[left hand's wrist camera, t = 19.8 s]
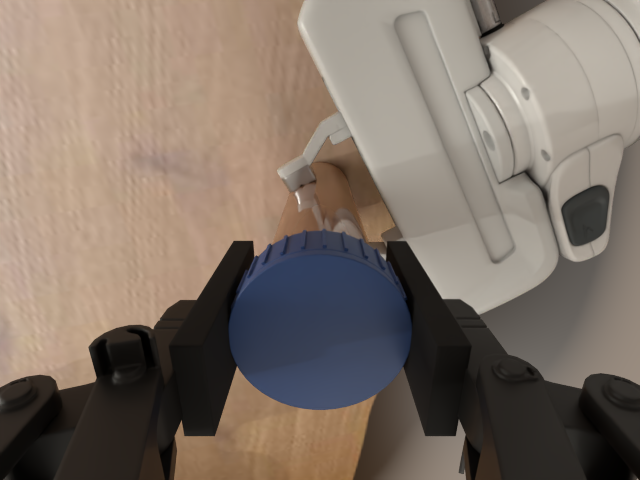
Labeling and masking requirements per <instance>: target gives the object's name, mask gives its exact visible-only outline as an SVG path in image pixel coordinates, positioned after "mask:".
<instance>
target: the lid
mask: <svg viewBox="0 0 640 480" xmlns="http://www.w3.org/2000/svg"><path fill="white" fill-rule="evenodd" d="M236 293H237V294H236V296H235V299H234V301H233V303H232V305H231V313H230V318H229V322H228V332H229V342H230V350H231V353H232V356H233V358H234V361H235V363H236V365H237V366H238V368H239V370H240V371H241V373H242V374H243V375H244V376H245V378H246V379H247V380H248V381H249V382H250V383H251V384H252V385H253V386H254V387H256V388H257V389H258V390H259V391H261V392H262V393H264V394H265V395H267V396H269V397H270V398H272V399H274V400H277V401H279V402H281V403H284V404H287V405H290V406H294V407H298V408H303V409H312V410H328V409H337V408H342V407H347V406H350V405H354V404H357V403H359V402H362V401H364V400H366V399H368V398H370V397H372V396H374V395H375V394H377V393H378V392H380V391H381V390H382V389H384V388H385V387H386V386H387V385H388V384H389V383H390V382H392V381H393V379H394V378H395V377H396V376H397V375H398V373H399V372H400V370H401V369H402V367H403V366H404V364H405V362H406V359H407V357H408V355H409V351H410V344H411V335H412V320H411V315H410V312H409V309H408V306H407V303H406V300H408V299H407V296H406V294H405V292H404V290H403V287H402V285H401V283H400V281H399V278H398V276H396V275H395V273H394V270H393V268H392V266H391V263H390V262H389V261H388V262H386V261H385V259H384V258H383V257H382V256H381V255H380V252H379V250H378V249H377V248H376V249H373V248H372V247H371V246H369V245H368V244H366V243H364V240H363V239H362V238H360V239H357V238H354V237H352V236H350V235H346V233H345V232H343V231H342V233H339V232H332V231H326V229H322V231H308V232H307V231H306V230H303V232H302V233H298V234H294V235H291V236H289V237H288V235H285V236H284V238H283V239H282V240H280V241H278V242H276V243H274V244H273V245H271V244H269V245H268V246H267V249H266V250H265V251H264V252H263V253H262V254H260V255H259V256H255V257H254V260H253V262H252V265H251V267H250V269H249V271H248V270H246V271H245V273H244V275H243V277H242V280H241V282H240V284H239V286H238V289H237V291H236Z"/></svg>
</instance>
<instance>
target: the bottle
mask: <svg viewBox="0 0 640 480" xmlns="http://www.w3.org/2000/svg"><path fill="white" fill-rule="evenodd" d="M311 165H312V167H313V169H314V171H315V173H316V180H314V181H312V182H310V183H309V184H306V185H302V184H301V186H300V188H299V189H297V190H296V191H294V192H291V193H289V196H288V199H287V202H286V205H285V208H284V210H283V213H282V216H281V219H280V222H279V225H278V228H277V231H276V234H275V237H274V239H273V242H272V245H273V244H274V243H276V242H278V241H280V240H282V239H283V238H284V236H285V235H288V237H289V236H291V235H294V234H298V233H302V232H303V230H306V231H307V232H308V231H322V229H326V231H332V232H339V233H342V231H343V232H345V233H346V235H350V236H352V237H354V238H357V239H360V238H362V239H363V240H364V243H366V244H368V245H369V246H370V244H369V242H368V239H367V236H366V233H365V230H364V227H363V224H362V221H361V219H360V216H359V213H358V210H357V207H356V204H355V201H354V198H353V196H352V193H351V190H350V187H349V184H348V181H347V179H346V177H345V175H344V174H343V172H342V171H341V170H340V169H339V168H337V167H336V166H334V165H332V164H330V163H326V162H315V163H312V164H311Z"/></svg>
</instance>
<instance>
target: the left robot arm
mask: <svg viewBox="0 0 640 480" xmlns="http://www.w3.org/2000/svg"><path fill="white" fill-rule="evenodd" d="M253 260H254V247H253V241H234V242H233V243H232V245H231V246H230V248H229V250H228V251H227V253H226V254H225V256H224V258H223V259H222V261H221V262H220V264H219V266H218V267H217V269H216V270H215V272H214V274H213V275H212V277H211V278H210V280H209V282H208V283H207V285H206V286H205V288H204V289H203V291H202V293H201V294H200V296H199V297H198V299H197V300H180V301H178V302H177V303H175V304H174V305H172V306H171V307H169V308H168V309H167V310H166V312H165V313H164V314H163V316H162V317H161V318H160V321H158V322H157V324H156V325H155V326H154V329H151V328H150V327H148V326H143V325H128V326H124V327H119V328H116V329H113V330H111V331H108V332H106V333H104V334H102V335H101V336H100V337H98V338H97V339H95V340H94V341H93V342H92V343H91V345H90V346H89V351H90V355H91V358H92V362H93V366H94V369H95V373H96V376H97V379H96V381H95V382H93V383H90V384H86V385H82V386H77V387H72V388H68V389H63V390H58V387H57V384H56V381H55V380H54V379H53V378H52V377H50V376H45V375H35V376H28V377H24V378H20V379H17V380H15V381H12V382H10V383H8V384H6V385H4V386H2V387H0V480H174V473H175V464H176V455H177V447H176V441H175V434H176V431H177V429H178V427H179V425H180V422H181V420H182V424H183V430H184V436H215V434H216V431H217V428H218V424H219V421H220V418H221V415H222V412H223V409H224V405H225V402H226V399H227V396H228V393H229V390H230V386H231V383H232V380H233V377H234V374H235V371H236V367H237V365H236V363H235V361H234V358H233V356H232V353H231V350H230V342H229V332H228V322H229V318H230V313H231V305H232V303H233V301H234V299H235V296H236V294H237V293H236V291H237V289H238V286H239V284H240V282H241V280H242V277H243V275H244V273H245V271H246V270H248V271H249V269H250V267H251V265H252V262H253ZM388 261H389V262H390V263H391V266H392V268H393V270H394V273H395V275H396V276H398V278H399V281H400V283H401V285H402V287H403V290H404V292H405V294H406V296H407V299H408V300H406V303H407V306H408V309H409V312H410V315H411V320H412V335H411V344H410V351H409V355H408V357H407V359H406V362H405V364H404V366H403V367H404V370H405V373H406V376H407V379H408V382H409V386H410V389H411V392H412V395H413V398H414V402H415V405H416V408H417V411H418V414H419V417H420V420H421V424H422V427H423V430H424V433H425V436H456V431H457V426H458V420H460V422H461V424H462V427H463V429H464V431H465V434H466V436H465V441H464V446H463V452H462V457H461V462H460V468H459V473H461V474H464V470H465V472H466V480H636V479H637V478H638V479H639V480H640V385H638V384H636V383H634V382H632V381H630V380H628V379H625V378H621V377H619V376H615V375H609V374H602V373H600V374H593V375H590V376H589V377H587V378H586V379H585V381H584V384H583V388H582V389H580V388H575V387H570V386H566V385H561V384H557V383H552V382H549V381H545V380H544V378H543V377H542V375H541V374H540V373H539V371H538V370H537V369H536V368H535V367H533V366H532V365H531V364H530V363H528V362H526V361H524V360H522V359H520V358H518V357H515V356H511V355H508V354H507V353H506V351H505V350H504V349H503V347H502V346H501V345H500V343H499V342H498V341H497V339H496V338H495V336H494V335H493V334H492V333H491V331H490V330H489V328H487V326H486V325H485V323H484V322H483V320H481V319H480V317H479V315H478V314H477V312H476V311H475V310H474V308H473V307H471V306H470V305H468V304H467V303H465V302H464V301H462V300H461V299H442V297H441V296H440V294H439V292H438V291H437V289H436V288H435V286H434V284H433V283H432V281H431V280H430V278H429V276H428V275H427V273H426V272H425V270H424V268H423V267H422V265H421V264H420V262H419V260H418V259H417V257H416V256H415V254H414V252H413V251H412V249H411V248H410V246H409V244H408V243H407V241H387V250H386V262H388Z"/></svg>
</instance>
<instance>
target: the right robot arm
mask: <svg viewBox="0 0 640 480" xmlns="http://www.w3.org/2000/svg"><path fill="white" fill-rule="evenodd" d="M297 25H298V30H299V33H300V35H301V37H302V39H303V41H304V43H305V45H306V47H307V49H308V51H309V53H310V55H311V57H312V59H313V61H314V63H315V65H316V67H317V69H318V71H319V73H320V75H321V77H322V79H323V81H324V83H325V85H326V87H327V89H328V91H329V93H330V95H331V97H332V99H333V101H334V103H335V105H336V107H337V109H338V112H336V113H334V114H333V115H331V116H329V117H328V118H326V119H324V120H323V121H321V122H320V124H319V125H318V127H317V129H316V131H315V132H314V134H313V136H312V138H311V139H310V141H309V143H308V144H307V146H306V148H305V150H304V152H303V154H301V155H300V156H298V157H296V158H294V159H293V160H291V161H289V162H287V163H285V164H284V165H283V166H281V167H280V168H279V169H278V170H277V172H278V174H279V176H280V178H281V179H282V181H283V182H284V184H285V185H286V187H287V189H288V190H289V192H290V193H291V192H294V191H296V190H297V189H299V188H300V186H301V184H302V185H306V184H309V183H310V182H312V181H314V180H316V173H315V171H314V169H313V167H312V165H311V164H312V162H313V160H314V159H315V157H316V155H317V154H318V152H319V150H320V149H321V147H322V145H323V144H324V142H325V140H326V139H327V137H328V136H329V139H330V140H331V142H332V144H333V145H336V144H338V143H340V142H342V141H344V140H346V139H347V138H349V137H352V139H353V141H354V143H355V145H356V147H357V149H358V151H359V153H360V155H361V157H362V159H363V161H364V163H365V165H366V167H367V169H368V171H369V173H370V175H371V177H372V179H373V181H374V183H375V185H376V187H377V189H378V191H379V193H380V195H381V197H382V199H383V201H384V203H385V205H386V207H387V209H388V211H389V213H390V215H391V217H392V219H393V221H394V223H395V225H396V226H395V227H393V228H392V229H390V230H388V231H386V232H384V233H382V234H381V237H382V239H383V241H384V242H369V244H370V246H371V247H372V248H373V249H376V248H377V249H378V250H379V252H380V255H381V256H382V257H383V258H384V259H385V261H386V250H387V241H407V243H408V244H409V246H410V248H411V249H412V251H413V252H414V254H415V256H416V257H417V259H418V260H419V262H420V264H421V265H422V267H423V268H424V270H425V272H426V273H427V275H428V276H429V278H430V280H431V281H432V283H433V284H434V286H435V288H436V289H437V291H438V292H439V294H440V296H441V297H442V299H461V300H462V301H464V302H465V303H467V304H468V305H470V306H471V307H473V308H474V310H475V311H476V312H477V314H478V315H479V314H482V313H484V312H486V311H489V310H491V309H493V308H495V307H497V306H500V305H502V304H504V303H506V302H508V301H510V300H512V299H514V298H516V297H518V296H520V295H522V294H523V293H525V292H527V291H529V290H531V289H532V288H534V287H536V286H537V285H539V284H540V283H542V282H543V281H544V280H545V279H546V278H548V277H549V275H550V274H551V273H552V272H553V270H554V269H555V267H556V265H557V262H558V258H559V255H561V256H563V257H565V258H567V259H569V260H571V261H574V262H580V261H584V260H587V259H590V258H592V257H594V256H596V255H598V254H600V253H601V252H602V251H603V250H604V249H605V248H606V246H607V243H608V240H609V233H610V222H611V213H612V204H613V197H614V191H615V185H616V180H617V176H618V171H619V168H620V164H621V160H622V157H623V151H624V149H625V148H627V147H629V146H631V145H632V144H634V143H635V142H637V141H638V140H639V139H640V0H546V1H544V2H542V3H541V4H539V5H537V6H535V7H534V8H532V9H530V10H528V11H527V12H525V13H523V14H521V15H520V16H518V17H516V18H514V19H513V20H511V21H509V22H507V23H505V24H502V23H501V20H500V17H499V14H498V11H497V8H496V5H495V2H494V0H304V2H303V5H302V8H301V11H300V14H299V18H298V22H297ZM481 35H482V36H481ZM479 37H481V38H480V39H479Z"/></svg>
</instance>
